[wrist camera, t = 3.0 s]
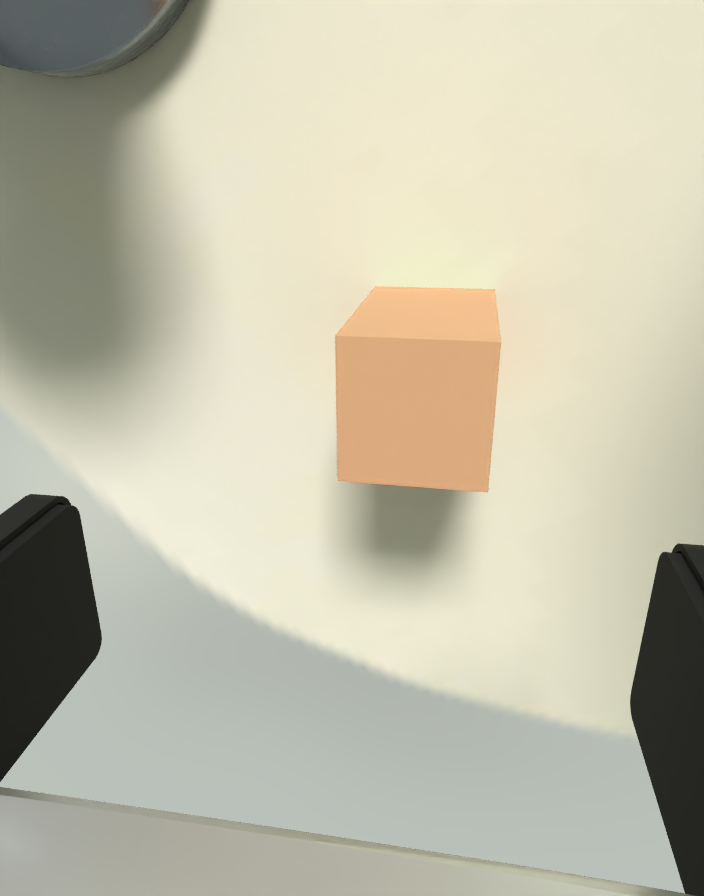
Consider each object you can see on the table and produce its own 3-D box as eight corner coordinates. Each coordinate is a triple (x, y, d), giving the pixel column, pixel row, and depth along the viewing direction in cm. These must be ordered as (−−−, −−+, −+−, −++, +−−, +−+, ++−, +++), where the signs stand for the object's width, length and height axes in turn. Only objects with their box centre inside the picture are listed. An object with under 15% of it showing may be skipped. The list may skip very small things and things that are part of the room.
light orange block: (494, 289, 22) (501, 342, 16) (485, 402, 23) (488, 492, 17) (375, 286, 22) (335, 336, 16) (374, 397, 24) (337, 481, 18)
